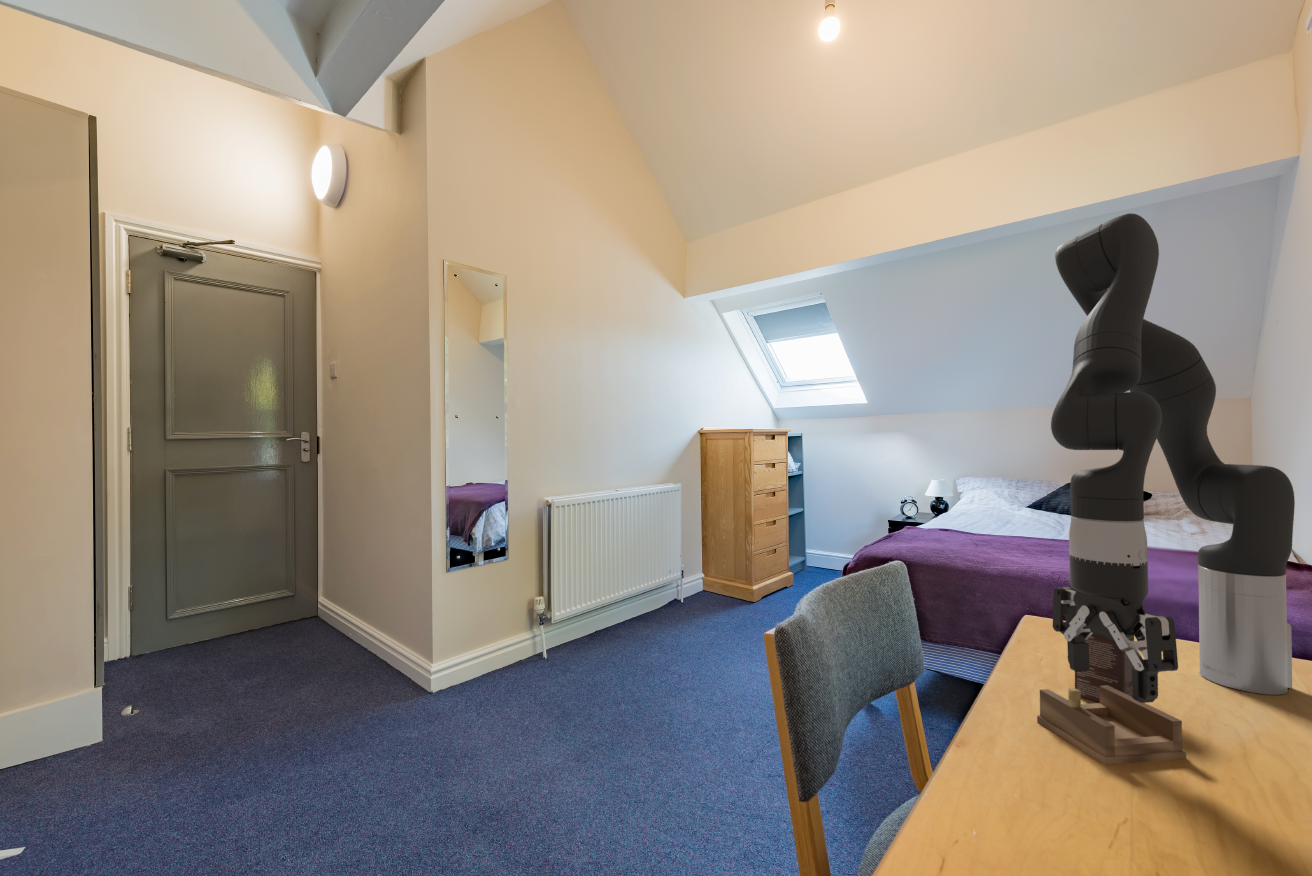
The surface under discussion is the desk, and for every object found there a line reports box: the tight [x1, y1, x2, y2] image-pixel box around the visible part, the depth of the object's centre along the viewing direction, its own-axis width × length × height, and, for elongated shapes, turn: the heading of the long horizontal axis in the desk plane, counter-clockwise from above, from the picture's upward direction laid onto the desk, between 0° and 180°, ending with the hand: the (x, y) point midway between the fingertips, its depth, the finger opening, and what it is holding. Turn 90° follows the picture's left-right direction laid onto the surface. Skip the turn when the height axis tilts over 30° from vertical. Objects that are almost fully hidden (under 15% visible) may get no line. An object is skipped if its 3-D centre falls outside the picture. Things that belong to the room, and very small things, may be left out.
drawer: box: [1036, 685, 1187, 766], centre depth 69 cm, size 10×10×6 cm
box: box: [1074, 611, 1135, 703], centre depth 79 cm, size 6×4×12 cm
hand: (1109, 685), depth 68 cm, fingers open, 8 cm apart
